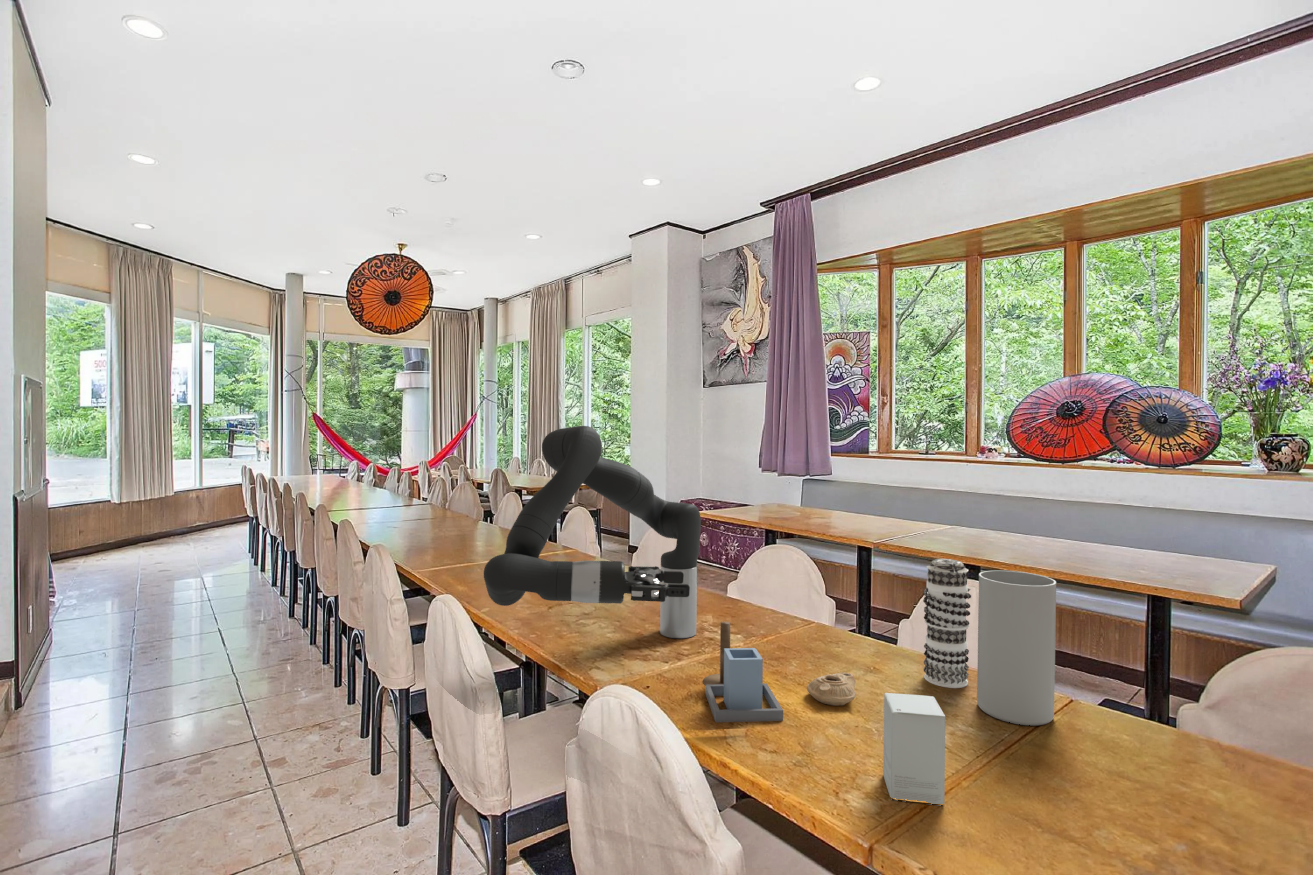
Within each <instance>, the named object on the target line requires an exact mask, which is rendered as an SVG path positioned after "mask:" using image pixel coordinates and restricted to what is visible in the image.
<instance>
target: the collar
mask: <svg viewBox="0 0 1313 875" xmlns="http://www.w3.org/2000/svg"><path fill="white" fill-rule="evenodd" d="M763 663H764V659H763V657H762V655H761V654H760V653H759V651H758V650H757V648H756V647H741V648H740V647H736V648H735V647H734V648H731V647H730V648H724V696H723V702H724V705H725V708H726V710H729V709H763V695H762V686H763V683H764V682H763V681H764V680H763V674H764V673H763V672H764V671H763V670H764V669H763V668H764V666H763Z"/></svg>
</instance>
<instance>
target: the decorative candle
mask: <svg viewBox="0 0 1313 875" xmlns="http://www.w3.org/2000/svg"><path fill="white" fill-rule="evenodd" d="M925 567H926V568H927V579H926V588H925V589H923V595H924V597H923V603H924V604H925V606H924V607H923V608H924V609H923V613H924V616H923V618H924V623H925V624H926V626H927V627H926V633H927V634H926V636H925V643H924V645H923V648H924V649H925V650H924V652H923V655H924V656H925V657H924V659H923V664H924V667H923V672H924V675H923V678H924V680H925V681H926V682H928V683H930V684H931V685H935V686H939V687H941V688H942V687H943V688H946V689H949V688H950V689H960V688H962V689H963V688H965V687H967V686H968V685H969V680H968V678H969V672H968V671H969V668H970V666H969V664H967V663H968V662H969V656H968V655H969V653H970V650H969V649H968V640H967V630H969V627H970V621H969V620H967V619H966V618H967V617H968V616H970V615H971V612H970V611H969V610H967V609H970V608H971V604H970V603H969V602H968V601H967V600H969V599H972V595H971V594H970V593H969V592H970V591H971V588H969V584H968V572H969V568H966V567H965V565H964V563H963V562H962V561H961V560H960V561H959V560H956V559H951V558H936V559H933V560H932V561H931V562H930V564H928V565H926V566H925Z"/></svg>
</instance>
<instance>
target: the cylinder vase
mask: <svg viewBox="0 0 1313 875" xmlns="http://www.w3.org/2000/svg"><path fill="white" fill-rule="evenodd" d="M977 606H978V612H977V615H978V616H977V621H978V623H977V676H976V677H977V678H976V680H977V682H976V687H977V688H976V690H977V691H976V701H977V702H976V703H977V706H978V707H979V709H980V710H982V711H983V712H984V713H986V714H987V715H989V716H990V717H992V718H994V719H998V720H1000V721H1003V722H1005V723H1009V722H1010V724H1015V725H1019V724H1020V725H1021V726H1029V725H1030V726H1043V725H1047V724H1049V723H1050V722H1052V720H1053V719H1054V717H1055V684H1056V683H1055V681H1056V680H1055V679H1056V675H1055V674H1056V673H1055V672H1056V622H1057V621H1056V615H1057V614H1056V612H1057V609H1056V608H1057V581H1056V580H1055V579H1053V578H1050V577H1048V576H1045V575H1041V574H1035V573H1030V572H1023V571H1013V570H985V571H981V572H979V573H978V605H977ZM1030 726H1029V727H1030Z"/></svg>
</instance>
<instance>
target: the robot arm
mask: <svg viewBox="0 0 1313 875" xmlns="http://www.w3.org/2000/svg"><path fill="white" fill-rule="evenodd" d="M602 444H603V443H602V439H601V437H600V434H599V433H598V432H597V430H596V429H595V428H594V427H592V426H589V425H577V426H576V425H574V426H570V427H563V428H559V429H555V430H553V431H550V432H549V433H548V434H546V436H544V438H543V440H542V445H541V451H542V455H543V458H544V460H545V462H546V463H547V464H548V466H549V467H550V468H551V469H552V470H554V471H556V473H555V474H554V476H553V477H551V479H549V481H548V482H547V483H546V484H544V486H543V487H541V489H539V490H538V491H537V492H536V493H535V494H534V495H533V496H532V497H531V498H530V499H529V500H528V501H527V503H525V505H524V506H523V507H522V509H521V510H520V513H519V514H518V516H517V517H516V520H515V521H514V523H513V525H512V526H511V528H510V531H509V533H508V534H507V537H506V545H505V550H504V553H501V554H498V555H496V556H493V557H492V558H490V559H489V561H487V563H486V564H485V566H484V570H483V579H484V582H485V586H486V587H485V588H486V592H487V594H488V597H489V598H490V599H491V601H492V602H494V604H496V605H498V606H502V607H507V606H511V605H515V604H516V603H518V602H519V601H520V600H521V599H522V598H523V596H524V595H525V593H534V594H537V595H538V596H539V597H541V599H543V600H544V601H549V602H552V601H553V602H577V603H582V604H583V603H584V604H619V605H620V604H622V603H623V601H624V597H625V596H624V595H625V594H627V595H630V600H631V601H634V602H636V601H638V602H658V603H659V602H660V608H659V610H660V614H659V615H660V623H659V633H660V635H662V636H664V637H666V638H669V639H688V638H691V637H694V636H696V635H697V615H698V614H697V611H698V610H697V608H698V607H697V606H698V605H697V603H698V602H697V601H698V600H697V599H698V598H697V596H698V594H697V589H698V587H697V584H698V577H697V576H698V575H697V574H698V573H697V572H698V567H697V566H698V558H699V555H700V554H699V553H700V547H701V545H700V543H701V530H702V529H701V528H702V521H701V520H702V518H701V513H700V510H699V508H698V506H696V505H695V504H692V503H686V502H675V501H667V500H665V499H662V498H660V497H658V496H657V495H656V494H655V492H654V487H653V484H652V482H651V481H650V480H649V479H648V477H646V476H645V475H643V474H642V473H641V472H640V471H638V470H637V469H635V468H634V467H632V466H631V465H628V464H625V463H623V462H620V461H617V460H612V459H609V458H605V457H602V456H601V455H602V451H603V445H602ZM582 485H585V486H587V487H588V488H590V489H591V490H593V491H595V492H596V493H597V494H599V495H600V496H602V497H604V498H606V499H608V501H610V502H611V503H613V504H614V505H616V506H617V507H619V508H621V509H622V510H624V511H626V512H628V513H630V514H631V515H633V516H635V517H637V518H638V519H641V521H643V522H644V523H646V525H648V526H649V527H650V528H652V530H653V531H654V532H656V534H658V535H660V536H661V537H664V538H668V539H675V540H676V545H675V548H674V549H673V550H670V551H666V552H664V553H662V554H661V557H660V567H659V566H656V565H655V566H628V569H627V570H628V571H626V570H625V568H626V567H625V563H624V561H619V560H579V561H578V560H577V561H572V560H571V561H566V560H565V561H562V560H557V561H556V560H554V561H553V560H552V561H551V560H546V559H543V558H540V555H541V554H542V551H543V550H544V548H545V545H546V544H547V541H548V540H549V538H550V537H551V534H552V533H553V530H554V528H555V526H556V524H557V523H558V520H559V519H560V517H561V515H562V514H563V512H564V510H565V509H566V507H567V506H568V505H569V503H570V501H571V500H572V499H573V497H574V496H575V494H576V493H577V492H578V490H579V489H580V487H582Z"/></svg>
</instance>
